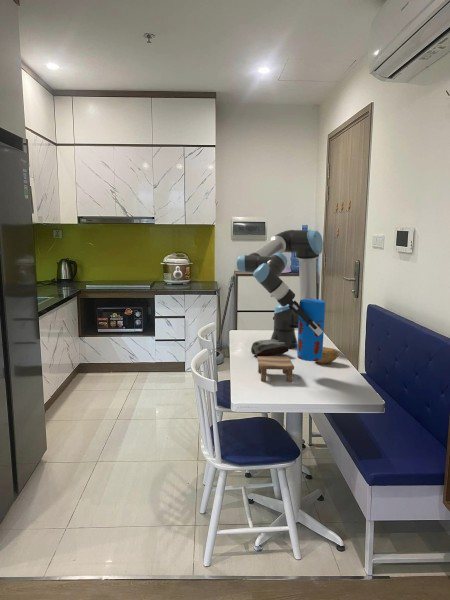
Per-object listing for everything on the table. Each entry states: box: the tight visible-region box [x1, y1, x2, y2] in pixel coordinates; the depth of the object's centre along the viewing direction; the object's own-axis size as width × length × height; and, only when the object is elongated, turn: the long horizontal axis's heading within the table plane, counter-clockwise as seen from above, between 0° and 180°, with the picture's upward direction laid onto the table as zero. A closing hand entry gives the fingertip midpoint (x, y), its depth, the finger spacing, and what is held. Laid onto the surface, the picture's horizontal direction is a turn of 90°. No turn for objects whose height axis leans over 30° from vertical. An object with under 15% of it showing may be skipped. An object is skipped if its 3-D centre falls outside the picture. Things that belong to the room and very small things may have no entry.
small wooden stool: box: [256, 356, 295, 383], centre depth 189 cm, size 14×14×7 cm
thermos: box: [296, 298, 326, 362], centre depth 187 cm, size 11×11×25 cm
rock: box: [250, 339, 290, 357], centre depth 220 cm, size 18×11×8 cm, turn 119°
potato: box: [315, 346, 339, 365], centre depth 211 cm, size 10×14×8 cm
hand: (317, 330), depth 187 cm, fingers closed on thermos, 11 cm apart
